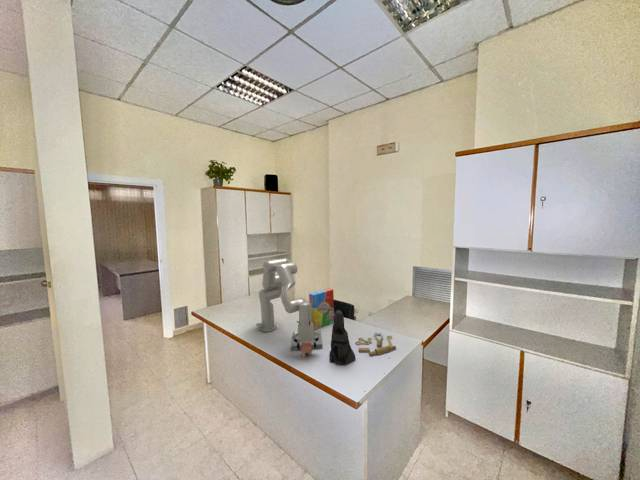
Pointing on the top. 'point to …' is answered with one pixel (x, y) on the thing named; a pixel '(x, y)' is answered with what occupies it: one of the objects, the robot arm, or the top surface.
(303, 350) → the pink block
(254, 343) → the top surface
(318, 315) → the game box
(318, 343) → the socket
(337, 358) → the black tall figure
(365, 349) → the toy baking set
